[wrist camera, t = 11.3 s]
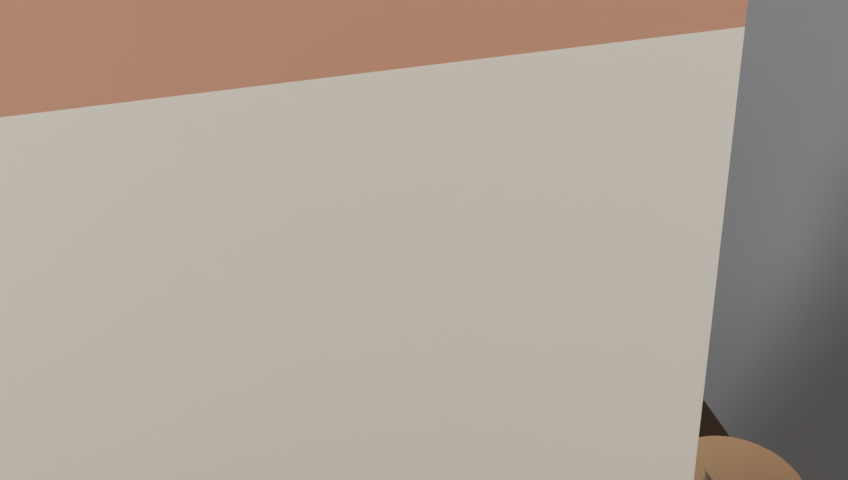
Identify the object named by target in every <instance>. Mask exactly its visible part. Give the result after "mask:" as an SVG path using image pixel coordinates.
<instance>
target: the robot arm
mask: <svg viewBox="0 0 848 480" xmlns="http://www.w3.org/2000/svg"><path fill="white" fill-rule="evenodd" d="M694 480H802V479H801V478H800V476H799V475H798V473H797V472H796V471H795V470H794V469H793V468H792V467H791V466H790V465H789V464H788V463H787V462H786V461H785V460H783V459H782V458H781V457H780V456H778V455H777V454H775V453H774V452H772V451H770V450H768V449H766V448H764V447H762V446H760V445H758V444H755V443H753V442H750V441H747V440H743V439H739V438H734V437H730V436H729V435H728V433H727V432H726V431H725V429H724V428H723V426H722V425H721V424H720V422H719V421H718V419H717V418H716V416H715V415H714V414H713V412H712V411H711V409H710V408H709V407H708V405H707V404H706V402H705V401H704V400H703V404H702V413H701V422H700V430H699V439H698V448H697V457H696V466H695V475H694Z"/></svg>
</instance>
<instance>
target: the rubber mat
mask: <svg viewBox="0 0 848 480" xmlns="http://www.w3.org/2000/svg"><path fill="white" fill-rule="evenodd" d="M703 400H704V401H705V402H706V404H707V405H708V407H709V408H710V409H711V411H712V412H713V414H714V415H715V416H716V418H717V419H718V421H719V422H720V424H721V425H722V426H723V428H724V429H725V431H726V432H727V433H728V435H729V436H730V437H734V438H739V439H743V440H747V441H750V442H753V443H755V444H758V445H760V446H762V447H764V448H766V449H768V450H770V451H772V452H774V453H775V454H777V455H778V456H780V457H781V458H782V459H783V460H785V461H786V462H787V463H788V464H789V465H790V466H791V467H792V468H793V469H794V470H795V471H796V472H797V473H798V475H799V476H800V478H801V479H802V480H848V0H748V6H747V15H746V23H745V32H744V41H743V50H742V59H741V68H740V76H739V85H738V94H737V103H736V112H735V121H734V130H733V138H732V147H731V156H730V165H729V174H728V183H727V191H726V200H725V209H724V218H723V227H722V236H721V245H720V253H719V262H718V271H717V280H716V289H715V298H714V307H713V315H712V324H711V333H710V342H709V351H708V360H707V368H706V377H705V386H704V395H703Z"/></svg>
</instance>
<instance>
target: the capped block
mask: <svg viewBox="0 0 848 480" xmlns="http://www.w3.org/2000/svg"><path fill="white" fill-rule="evenodd" d="M747 6H748V0H0V480H694V475H695V466H696V457H697V448H698V439H699V430H700V422H701V413H702V404H703V395H704V386H705V377H706V368H707V360H708V351H709V342H710V333H711V324H712V315H713V307H714V298H715V289H716V280H717V271H718V262H719V253H720V245H721V236H722V227H723V218H724V209H725V200H726V191H727V183H728V174H729V165H730V156H731V147H732V138H733V130H734V121H735V112H736V103H737V94H738V85H739V76H740V68H741V59H742V50H743V41H744V32H745V23H746V15H747Z"/></svg>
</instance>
